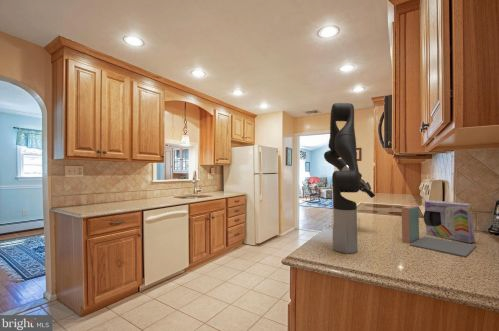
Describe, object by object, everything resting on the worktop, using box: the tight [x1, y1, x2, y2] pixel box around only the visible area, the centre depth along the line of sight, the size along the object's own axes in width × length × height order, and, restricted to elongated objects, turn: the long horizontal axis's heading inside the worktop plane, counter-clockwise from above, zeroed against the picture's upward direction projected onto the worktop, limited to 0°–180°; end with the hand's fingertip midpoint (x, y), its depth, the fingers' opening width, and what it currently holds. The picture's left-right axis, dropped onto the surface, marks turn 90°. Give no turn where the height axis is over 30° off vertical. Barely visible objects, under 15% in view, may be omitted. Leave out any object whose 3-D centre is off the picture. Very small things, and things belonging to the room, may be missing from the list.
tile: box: [401, 204, 420, 244], centre depth 112 cm, size 12×3×16 cm, turn 128°
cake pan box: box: [423, 200, 476, 244], centre depth 115 cm, size 19×5×18 cm, turn 23°
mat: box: [409, 235, 477, 258], centre depth 102 cm, size 20×18×1 cm
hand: (373, 196), depth 125 cm, fingers closed
